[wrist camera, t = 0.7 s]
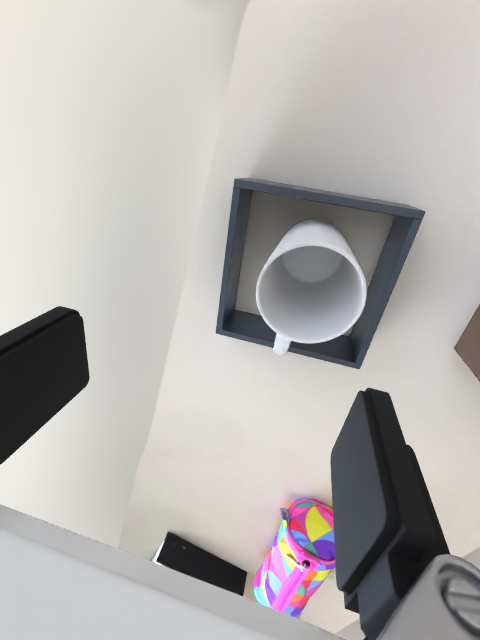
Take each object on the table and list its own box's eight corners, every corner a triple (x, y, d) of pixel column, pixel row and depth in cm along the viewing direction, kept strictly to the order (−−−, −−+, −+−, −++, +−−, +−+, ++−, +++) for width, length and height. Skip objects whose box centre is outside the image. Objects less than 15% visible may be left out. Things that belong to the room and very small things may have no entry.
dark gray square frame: (247, 177, 27) (234, 178, 23) (407, 204, 25) (426, 211, 21) (228, 313, 34) (215, 333, 30) (353, 342, 32) (359, 369, 28)
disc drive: (247, 572, 58) (241, 604, 54) (208, 606, 69) (201, 635, 65) (168, 531, 59) (156, 560, 54) (142, 572, 70) (130, 598, 65)
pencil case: (284, 482, 44) (277, 549, 37) (347, 503, 43) (353, 576, 35) (256, 553, 55) (246, 617, 47) (306, 571, 54) (305, 640, 46)
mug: (293, 204, 27) (279, 223, 17) (362, 230, 27) (390, 267, 17) (256, 296, 32) (228, 356, 22) (314, 320, 32) (313, 392, 21)
